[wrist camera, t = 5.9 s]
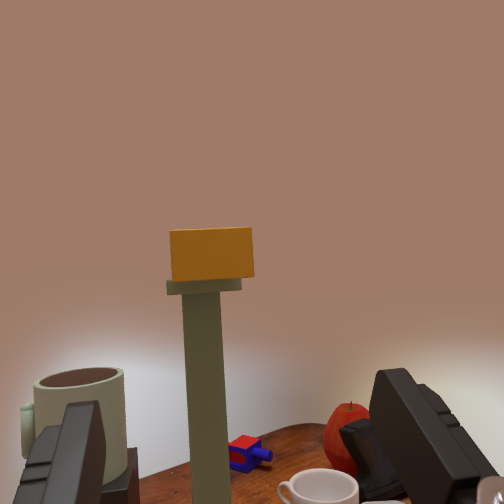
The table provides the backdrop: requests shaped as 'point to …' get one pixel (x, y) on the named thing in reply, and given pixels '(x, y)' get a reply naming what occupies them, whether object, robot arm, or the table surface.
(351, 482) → the teacup
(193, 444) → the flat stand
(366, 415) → the apple
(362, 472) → the handgun
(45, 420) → the hollow cylinder with base
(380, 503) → the grey smart device
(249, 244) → the rectangular block
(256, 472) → the table surface
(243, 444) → the toy building block
